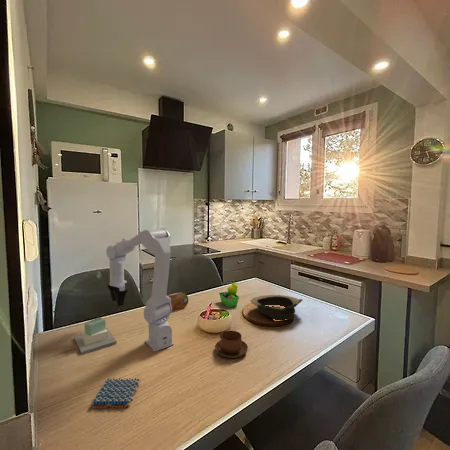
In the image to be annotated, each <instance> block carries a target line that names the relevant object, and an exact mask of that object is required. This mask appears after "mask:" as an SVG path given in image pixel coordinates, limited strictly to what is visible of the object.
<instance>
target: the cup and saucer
mask: <svg viewBox="0 0 450 450" xmlns="http://www.w3.org/2000/svg"><path fill="white" fill-rule="evenodd" d="M219 338H220V340H219V341H217V342H216V343H215V345H214V349H215V352H216V353H217V354H219V355H220V356H222V357H224V358H228V359H229V358H230V359H236V358H239V357H242V356H244V355H245V354H246V353H247V352H248V349H249V347H248V344H247V343H246V342H245V341H243V340H242V334H241V332H239V331H237V330H227V331H224V332H220V333H219Z"/></svg>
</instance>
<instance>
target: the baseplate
mask: <svg viewBox="0 0 450 450" xmlns="http://www.w3.org/2000/svg"><path fill="white" fill-rule="evenodd" d="M105 328H106V329H105V330H103V331H101V332H98V333H96V334H94V335H92V336H90V335H88V334H86V333H85V330H82V331H81V334H79V335H75V336H73V337H74V342H75V343H76V345H77V348H78V350H79V352H80V355H81V356H82V355H84V354H85V355H86V354H88V353H93V352H94V351H98V350H101V349H104V348H107V347H110V346H114V345H117V340H116V339H115V337H114V336H113V334H112V333H111V332H110V331H109V329H108V328H107V327H105Z"/></svg>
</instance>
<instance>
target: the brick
mask: <svg viewBox="0 0 450 450" xmlns="http://www.w3.org/2000/svg"><path fill="white" fill-rule="evenodd" d="M106 328H107V327H106V318H105V319H104V318H102V317H96V318H94V319H92V320H89V321H86V322H84V331H85V333H86V334H88V335H90V336H92V335H94V334H96V333H98V332H101V331H103V330H105V329H106Z"/></svg>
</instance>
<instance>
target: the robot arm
mask: <svg viewBox="0 0 450 450" xmlns="http://www.w3.org/2000/svg"><path fill="white" fill-rule="evenodd" d="M171 237H172V236H171V234H170V232H169V231H168V230H167V229H166V228H156V229H148V230H147V229H144V230H142V231H139V232H138V234H136V235H135V236H133V237H132V238H127V237H124V238H122V240H121V241H119V242H115V244H114V245H112V244H111V245H110V244H109V245H108V246H107V248H106V251H105V252H106V257H107V258H108V259H109V284H108V285H107V286H106V287H107V288H108V291H109V294H110V296H111V301H112V302H115V301H116V306H117V307H121V306H124V303H125V298H126V295H127V293H128V291H129V289H127V288H126V285H125V284H127V283H128V281H127V280H125V260H126V256H127V254H129V253H131V252H133V251H135V248H136V247H137V246H138V245H142V246H143V247H144V248H145V249H146V250H147V251H148V252H149V253H151V254H153V255H154V267H153V275H152V277H153V278H152V289H151V296H150V298H148V300H147V301H146V303H145V308H144V309H143V318H144V320H145V321H146V323H148V338H146V339H145V340H144V342H145V343H146V344H147V346H149V347H150V349H152V350H153V351H154V352H157V351H160V350H163V349H165V348H168V347H171V346H173V345H175V343H174V341H173V331H172V327H171V326H170V324H169V320H168V319H170V315H172V305H171V299H170V298H169V297H168V296H167V295H168V285H169V284H168V283H169V274H170V273H169V272H170V264H171V256H172V255H171V252H172V251H171Z"/></svg>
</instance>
